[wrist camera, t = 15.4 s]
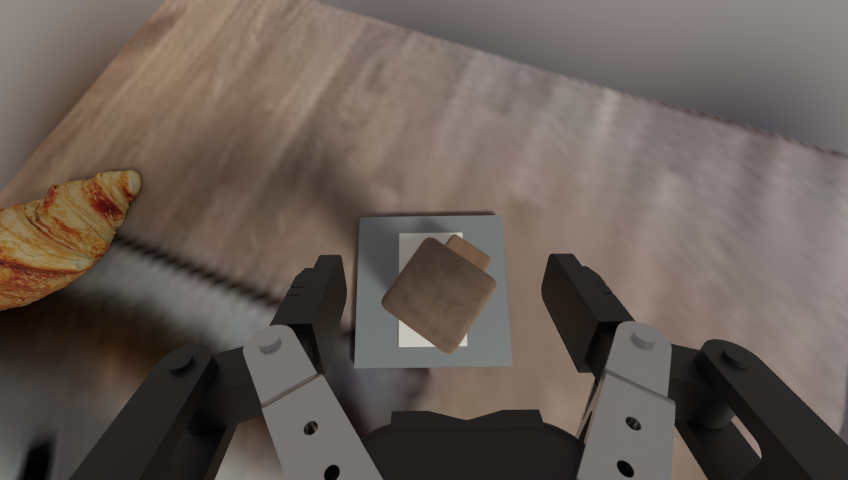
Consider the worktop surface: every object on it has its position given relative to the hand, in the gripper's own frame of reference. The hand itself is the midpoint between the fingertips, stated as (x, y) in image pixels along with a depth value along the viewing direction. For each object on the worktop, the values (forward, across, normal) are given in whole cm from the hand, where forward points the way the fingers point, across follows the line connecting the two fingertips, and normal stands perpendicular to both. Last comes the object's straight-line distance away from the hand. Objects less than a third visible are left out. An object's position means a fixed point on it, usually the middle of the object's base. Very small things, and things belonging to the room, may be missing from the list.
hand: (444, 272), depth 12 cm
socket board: (+17, 0, +15) cm, 23 cm away
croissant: (+22, +40, +12) cm, 48 cm away
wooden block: (+16, -2, +14) cm, 22 cm away
